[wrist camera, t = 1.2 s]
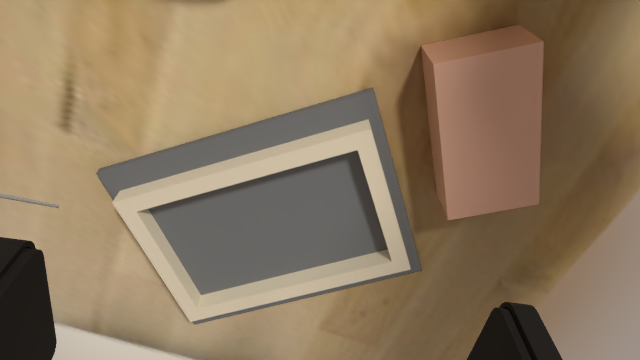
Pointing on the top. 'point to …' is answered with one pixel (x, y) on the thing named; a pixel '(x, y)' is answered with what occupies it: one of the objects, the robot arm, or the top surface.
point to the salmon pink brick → (485, 120)
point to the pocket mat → (270, 210)
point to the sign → (27, 200)
